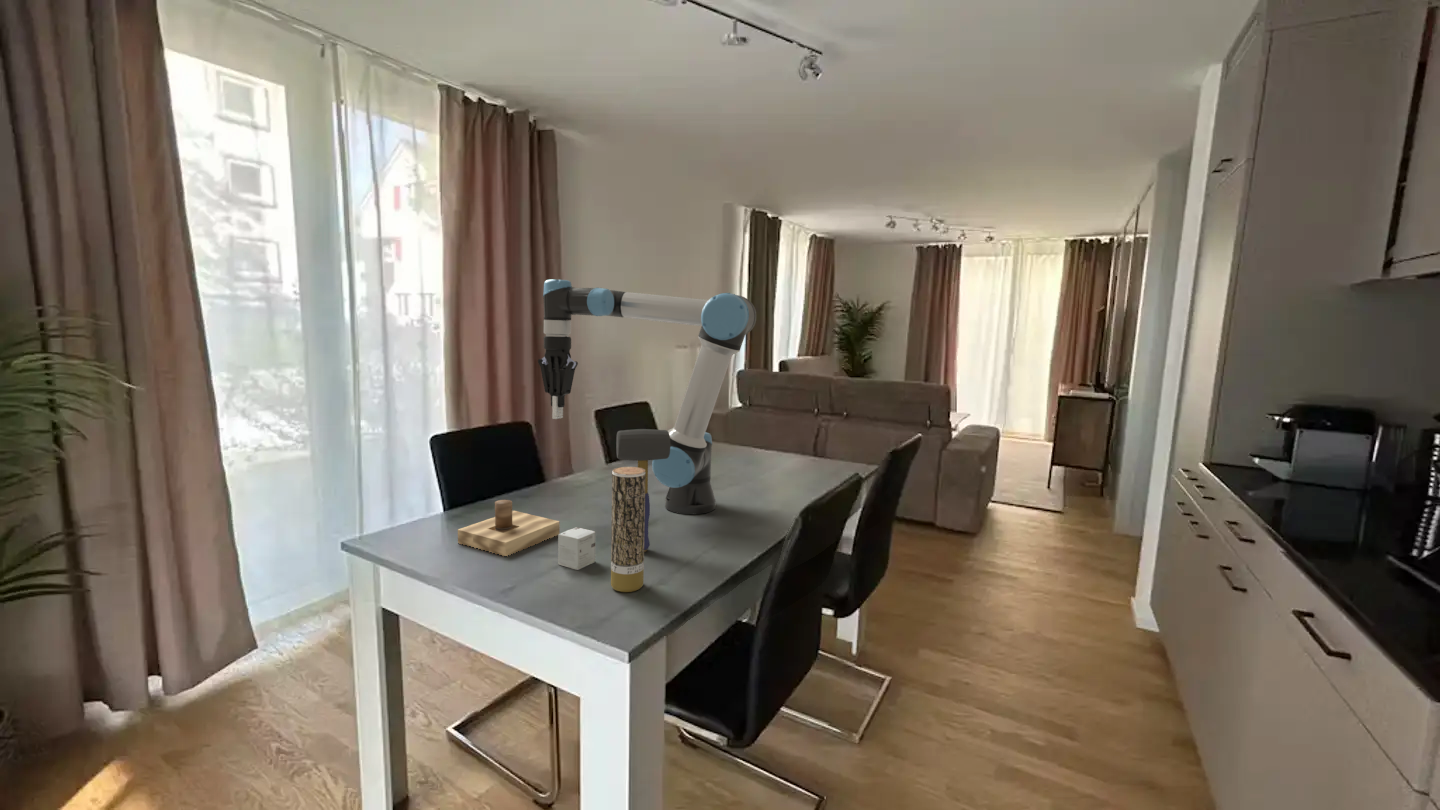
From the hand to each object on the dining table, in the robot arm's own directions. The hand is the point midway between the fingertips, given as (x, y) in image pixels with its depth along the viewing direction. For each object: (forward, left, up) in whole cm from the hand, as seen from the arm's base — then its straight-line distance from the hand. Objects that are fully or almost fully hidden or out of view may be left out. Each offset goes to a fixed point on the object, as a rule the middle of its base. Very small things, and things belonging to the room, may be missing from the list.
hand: (557, 418), depth 179 cm
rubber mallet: (-40, +15, -27) cm, 50 cm away
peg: (-8, +28, -26) cm, 39 cm away
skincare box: (-32, +29, -27) cm, 51 cm away
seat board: (-8, +26, -26) cm, 38 cm away
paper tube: (-49, +33, -27) cm, 65 cm away
